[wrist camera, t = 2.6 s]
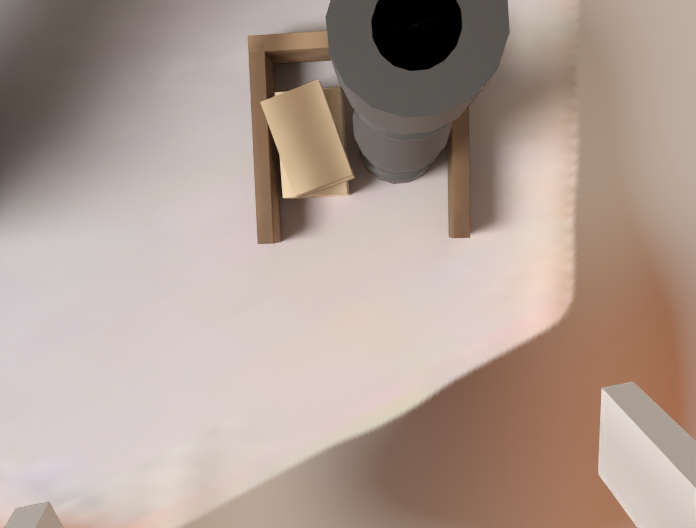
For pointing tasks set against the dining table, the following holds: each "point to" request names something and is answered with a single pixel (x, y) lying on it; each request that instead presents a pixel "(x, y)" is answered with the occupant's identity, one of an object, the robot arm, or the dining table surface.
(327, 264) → the dining table surface
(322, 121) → the offcut upper
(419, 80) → the candle holder
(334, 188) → the offcut lower
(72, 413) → the dining table surface
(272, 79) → the walnut caddy
